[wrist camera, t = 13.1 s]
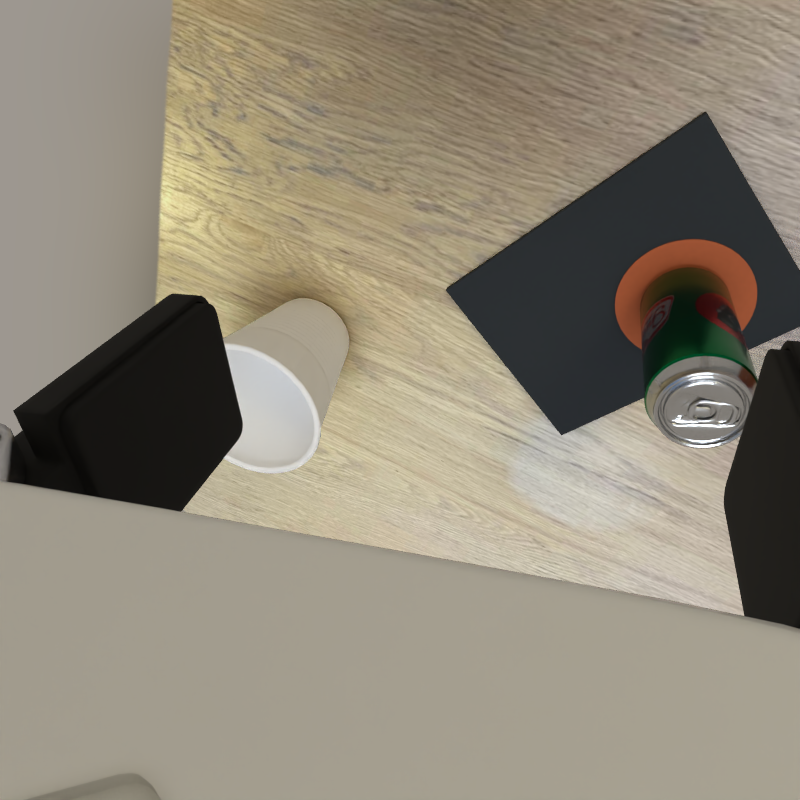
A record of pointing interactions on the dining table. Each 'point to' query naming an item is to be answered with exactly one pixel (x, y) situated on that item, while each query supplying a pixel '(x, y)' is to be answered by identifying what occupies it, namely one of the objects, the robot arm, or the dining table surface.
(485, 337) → the placemat
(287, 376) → the cup
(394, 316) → the dining table surface
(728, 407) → the soda can
